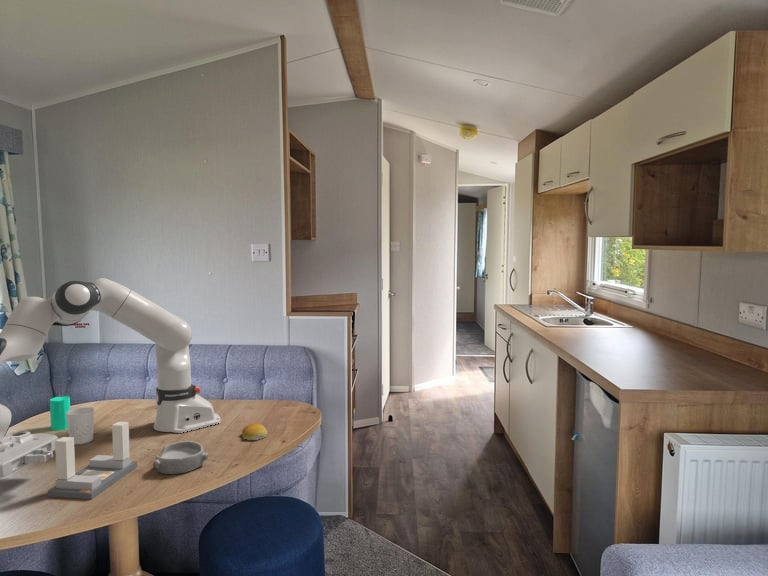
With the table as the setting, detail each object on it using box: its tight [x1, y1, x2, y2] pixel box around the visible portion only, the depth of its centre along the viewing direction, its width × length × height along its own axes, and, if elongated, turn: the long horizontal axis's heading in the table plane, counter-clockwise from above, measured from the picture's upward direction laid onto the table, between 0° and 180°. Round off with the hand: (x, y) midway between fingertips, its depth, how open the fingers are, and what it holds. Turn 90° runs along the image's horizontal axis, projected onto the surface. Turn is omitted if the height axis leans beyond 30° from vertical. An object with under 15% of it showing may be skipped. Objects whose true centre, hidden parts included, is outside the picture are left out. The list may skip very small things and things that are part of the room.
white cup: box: [66, 406, 95, 445], centre depth 171 cm, size 8×8×10 cm
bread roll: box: [241, 423, 268, 441], centre depth 177 cm, size 8×9×4 cm
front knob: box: [54, 436, 76, 480], centre depth 136 cm, size 3×3×10 cm
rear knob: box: [111, 421, 131, 460], centre depth 148 cm, size 3×3×10 cm
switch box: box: [47, 454, 138, 500], centre depth 143 cm, size 12×20×4 cm, turn 174°
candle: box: [49, 393, 71, 431], centre depth 183 cm, size 6×6×12 cm
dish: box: [153, 440, 209, 475], centre depth 153 cm, size 14×14×5 cm
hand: (49, 456), depth 137 cm, fingers closed
